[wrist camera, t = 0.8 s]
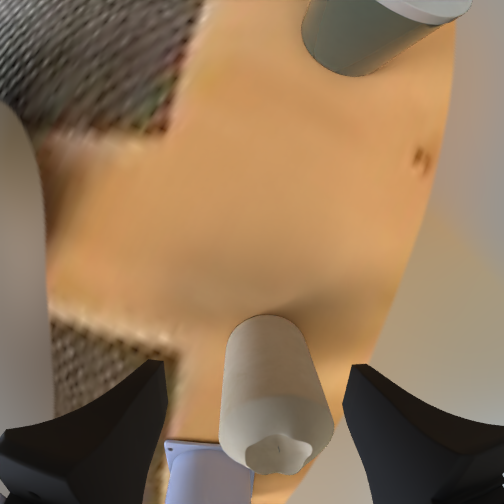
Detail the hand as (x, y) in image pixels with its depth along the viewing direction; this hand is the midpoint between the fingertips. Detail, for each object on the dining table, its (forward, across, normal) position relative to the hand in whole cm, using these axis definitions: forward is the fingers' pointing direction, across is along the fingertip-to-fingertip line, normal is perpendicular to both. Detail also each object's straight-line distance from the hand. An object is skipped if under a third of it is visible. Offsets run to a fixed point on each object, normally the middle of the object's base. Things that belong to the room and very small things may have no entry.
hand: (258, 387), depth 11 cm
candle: (+10, -1, +4) cm, 11 cm away
